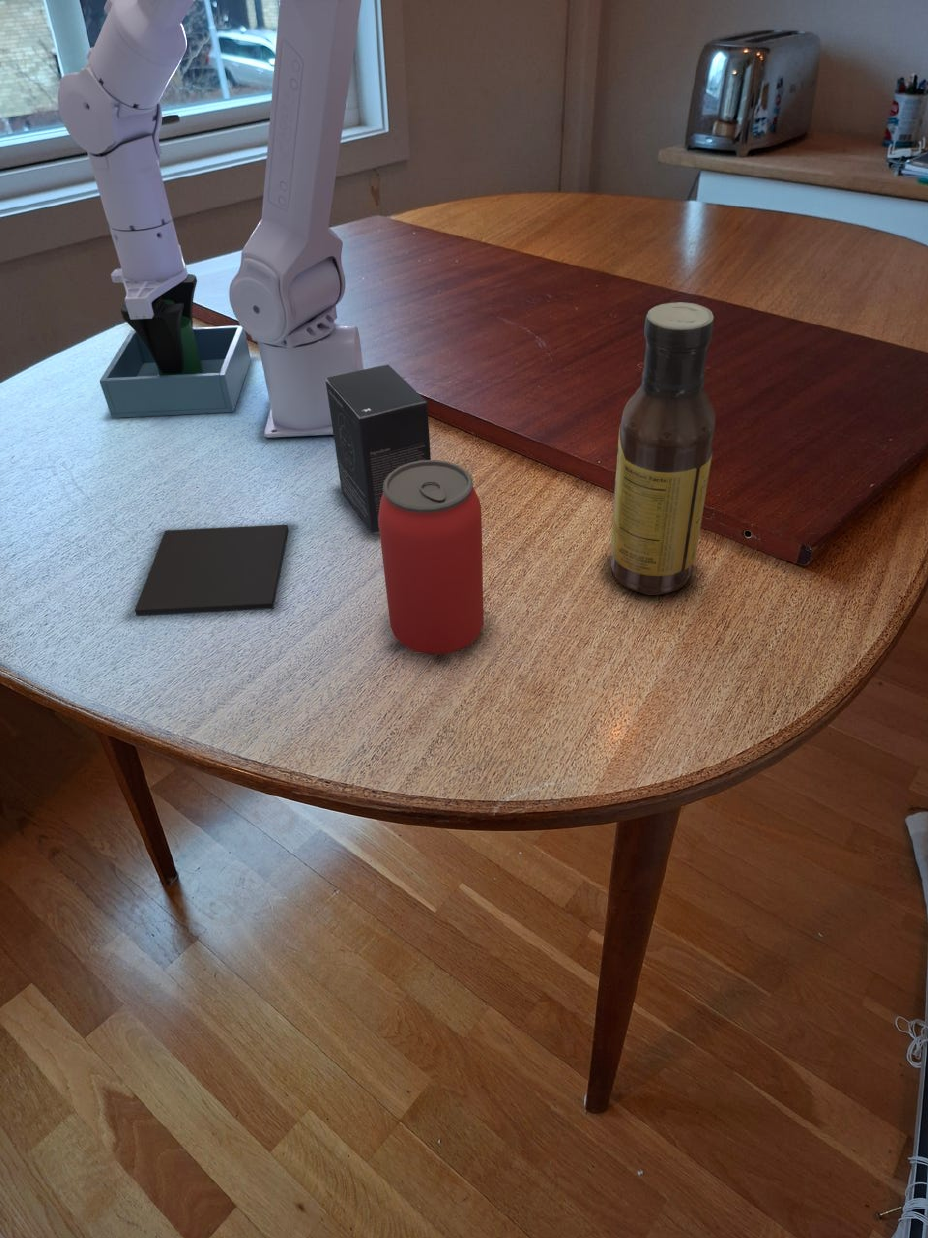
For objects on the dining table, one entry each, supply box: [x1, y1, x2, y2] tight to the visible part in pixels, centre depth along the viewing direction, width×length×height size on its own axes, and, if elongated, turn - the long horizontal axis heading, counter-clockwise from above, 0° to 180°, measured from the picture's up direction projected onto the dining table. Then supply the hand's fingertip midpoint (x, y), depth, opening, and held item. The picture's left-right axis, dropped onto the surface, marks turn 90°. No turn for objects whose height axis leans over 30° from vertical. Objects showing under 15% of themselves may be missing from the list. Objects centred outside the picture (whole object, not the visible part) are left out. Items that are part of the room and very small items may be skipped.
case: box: [99, 324, 252, 419], centre depth 88 cm, size 12×12×4 cm
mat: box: [134, 524, 289, 616], centre depth 65 cm, size 10×10×1 cm
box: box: [325, 363, 432, 535], centre depth 68 cm, size 8×6×11 cm
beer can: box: [378, 459, 485, 656], centre depth 56 cm, size 7×7×12 cm
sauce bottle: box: [609, 301, 717, 596], centre depth 57 cm, size 6×6×20 cm
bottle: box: [156, 300, 204, 376], centre depth 86 cm, size 4×4×8 cm
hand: (178, 360), depth 87 cm, fingers closed on bottle, 4 cm apart
